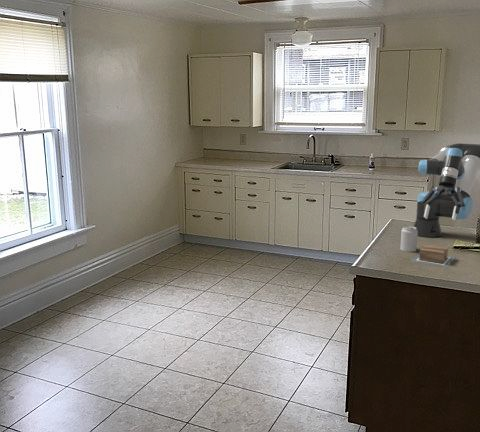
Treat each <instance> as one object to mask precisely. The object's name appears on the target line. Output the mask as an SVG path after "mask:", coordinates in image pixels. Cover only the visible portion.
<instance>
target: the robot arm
mask: <svg viewBox="0 0 480 432" xmlns="http://www.w3.org/2000/svg"><path fill="white" fill-rule="evenodd" d="M417 169H418V173H419V174H420V175H428V176H429V175H430V176H440V178H439V182H438V186H437V187H436V186H434V185H433V186H431V188H430V190H428V191H423V192H420V193H418V195H417V200H416V202H417V204H416V215H415V217H416V219H415V221H414V224H413V227H416V228H417V229H416V230H417V231H418V235H417V237H423V238H424V237H425V238H439V237H441V236H442V227H441V223H440V218H450V219H451V220H452V221H454V222H455V221H456V220H466V219H467V218H468V217H469V216H470V215H471V213H472V209H473V206H474V205H473V204H474V201H473V198H472V197H471V195H470V194H471V191H472V188H473V185H474V183H475V180H476V177H477V175H478V171H479V170H480V143H479V144H477V143H475V144H474V143H453V144H449V145H447V146H444V147H443V148H441V149H440V150H439V152H438V153H437V154H435V155H434V156H433V157H431V158H429V159H421V160H419V162H418V168H417Z"/></svg>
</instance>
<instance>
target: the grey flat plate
mask: <svg viewBox="0 0 480 432" xmlns="http://www.w3.org/2000/svg"><path fill="white" fill-rule="evenodd" d="M419 256H420V252H419V253H418V254H416V255H415V256H414V257H413V258H412V259H411V260H410V261H409V262H411V263H417V264H423V265H429V266H435V267H439V268H440V267H441V268H449V266H450V265H451V264H452V262H454V260H455V259H456V257H457V256H453V255H448V257H447V259H446V260H445V261H444V262H443V264H439V263H433V262H427V261H421V260H419Z"/></svg>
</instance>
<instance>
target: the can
mask: <svg viewBox="0 0 480 432" xmlns="http://www.w3.org/2000/svg"><path fill="white" fill-rule="evenodd" d="M413 226H414V225H413ZM413 226H412V225H406V226H403V227H402V228H401V230H400V231H401V232H400V233H401V234H400V250H401V251H403V252H408V253H413V252H416V251H417V247H418V236H417V235H418V231H417V230H416V229H417V228H416V227H413Z"/></svg>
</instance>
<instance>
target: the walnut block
mask: <svg viewBox="0 0 480 432" xmlns="http://www.w3.org/2000/svg"><path fill="white" fill-rule="evenodd" d="M419 253H420V256H419V260H421V261H427V262H433V263H439V264H443V262H444V261H445V260H446V259H447V257H448V256H449V247H446V246H440V245H439V246H438V245H434V244H425V245H423V246H422V247H421V248H420V249H419Z"/></svg>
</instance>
